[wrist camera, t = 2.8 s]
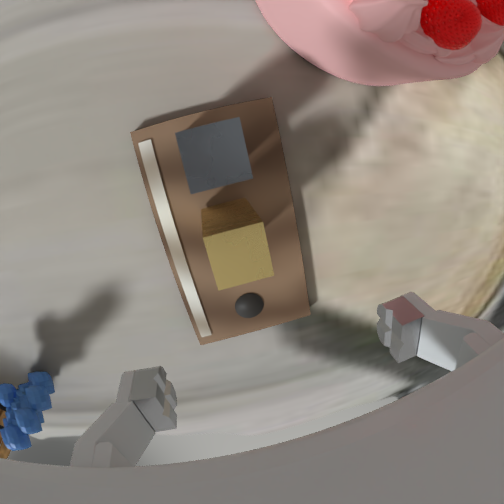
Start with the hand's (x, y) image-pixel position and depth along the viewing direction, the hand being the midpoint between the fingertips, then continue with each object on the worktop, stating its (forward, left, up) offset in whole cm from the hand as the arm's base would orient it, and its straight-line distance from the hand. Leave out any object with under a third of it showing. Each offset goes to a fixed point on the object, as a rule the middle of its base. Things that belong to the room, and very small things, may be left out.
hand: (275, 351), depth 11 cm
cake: (-19, +16, -17) cm, 30 cm away
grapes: (+11, -27, -17) cm, 34 cm away
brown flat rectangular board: (+1, 0, -17) cm, 17 cm away
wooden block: (0, 0, -15) cm, 15 cm away
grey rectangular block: (-6, 0, -15) cm, 17 cm away
